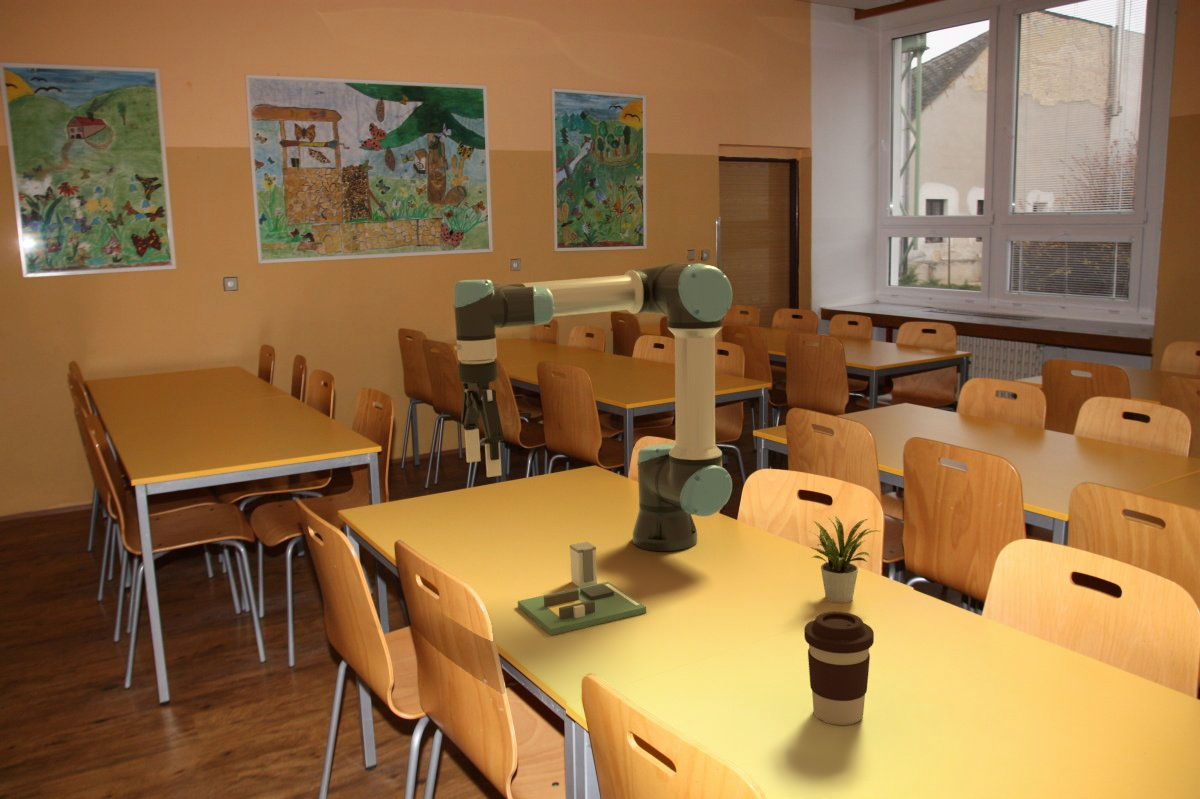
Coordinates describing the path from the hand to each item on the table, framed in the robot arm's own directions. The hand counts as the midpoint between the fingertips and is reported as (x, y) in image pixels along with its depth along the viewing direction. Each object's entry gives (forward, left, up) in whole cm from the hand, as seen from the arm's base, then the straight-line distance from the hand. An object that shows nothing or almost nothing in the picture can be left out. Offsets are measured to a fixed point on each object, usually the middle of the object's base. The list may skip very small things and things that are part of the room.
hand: (483, 468), depth 190 cm
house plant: (-60, +36, -28) cm, 75 cm away
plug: (-20, +1, -27) cm, 34 cm away
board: (-13, +14, -27) cm, 33 cm away
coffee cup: (-28, +71, -28) cm, 81 cm away
